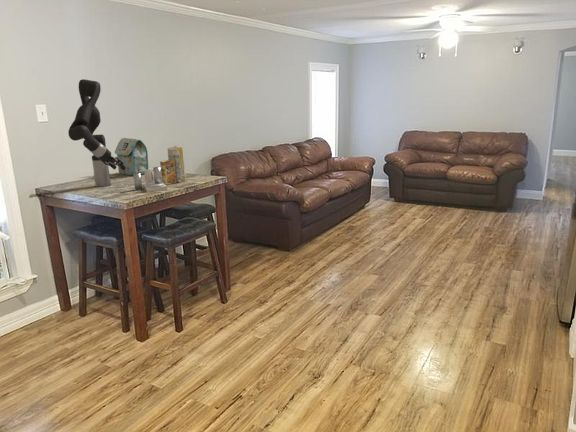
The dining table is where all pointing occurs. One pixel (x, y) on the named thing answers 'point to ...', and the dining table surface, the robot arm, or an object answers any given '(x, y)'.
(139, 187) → the spacer
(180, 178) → the juice carton
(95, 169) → the robot arm
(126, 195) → the dining table surface
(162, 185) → the grey l-shaped block
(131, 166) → the lunch bag
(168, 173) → the candy box
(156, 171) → the spacer
